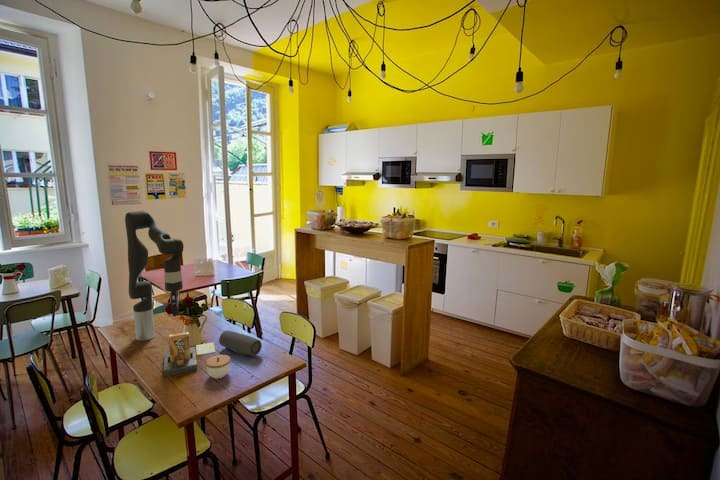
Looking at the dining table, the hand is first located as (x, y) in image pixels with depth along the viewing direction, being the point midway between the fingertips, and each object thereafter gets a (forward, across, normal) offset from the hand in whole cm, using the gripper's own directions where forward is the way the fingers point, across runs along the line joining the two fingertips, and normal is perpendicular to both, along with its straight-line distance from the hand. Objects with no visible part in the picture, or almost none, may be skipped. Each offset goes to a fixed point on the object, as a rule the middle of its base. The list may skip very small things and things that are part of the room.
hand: (175, 312), depth 170 cm
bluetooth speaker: (+27, -1, +29) cm, 40 cm away
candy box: (+27, 0, +1) cm, 27 cm away
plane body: (+27, 0, +1) cm, 27 cm away
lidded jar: (+28, +18, +17) cm, 37 cm away
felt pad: (+26, -11, +12) cm, 31 cm away
